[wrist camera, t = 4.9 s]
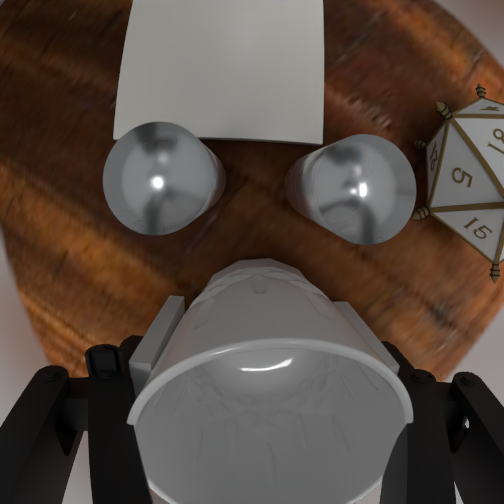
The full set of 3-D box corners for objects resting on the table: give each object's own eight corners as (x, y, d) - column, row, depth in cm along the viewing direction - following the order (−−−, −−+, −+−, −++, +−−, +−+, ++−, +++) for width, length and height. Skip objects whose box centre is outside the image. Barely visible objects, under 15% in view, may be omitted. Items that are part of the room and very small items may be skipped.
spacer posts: (162, 147, 15) (106, 124, 8) (367, 159, 15) (443, 148, 8) (172, 430, 19) (152, 512, 12) (326, 433, 19) (351, 513, 12)
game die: (409, 146, 19) (472, 22, 10) (505, 219, 17) (593, 125, 8) (354, 241, 16) (452, 73, 6) (477, 331, 14) (626, 248, 5)
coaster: (142, -17, 13) (139, -24, 12) (318, -16, 13) (321, -23, 12) (119, 141, 15) (113, 139, 14) (318, 146, 15) (322, 144, 14)
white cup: (194, 383, 18) (163, 526, 8) (175, 251, 16) (87, 343, 6) (329, 373, 18) (384, 508, 8) (331, 240, 16) (438, 317, 6)
